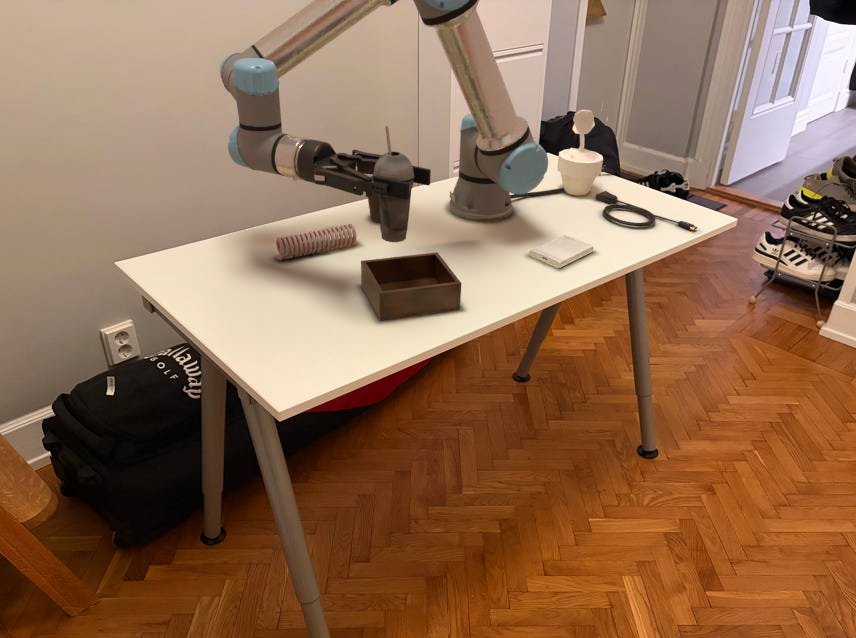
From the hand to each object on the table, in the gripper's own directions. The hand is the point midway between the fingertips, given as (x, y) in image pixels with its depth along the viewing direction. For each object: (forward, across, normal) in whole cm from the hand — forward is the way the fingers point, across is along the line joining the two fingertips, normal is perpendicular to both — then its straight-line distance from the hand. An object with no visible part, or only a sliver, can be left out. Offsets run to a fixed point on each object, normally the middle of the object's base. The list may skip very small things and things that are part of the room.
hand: (419, 184), depth 124 cm
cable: (+27, -64, -24) cm, 74 cm away
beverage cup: (-5, 0, -11) cm, 12 cm away
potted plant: (+9, -75, -24) cm, 79 cm away
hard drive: (+18, -35, -24) cm, 46 cm away
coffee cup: (-26, -32, -24) cm, 47 cm away
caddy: (-2, -1, -24) cm, 24 cm away
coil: (-29, -10, -24) cm, 38 cm away
